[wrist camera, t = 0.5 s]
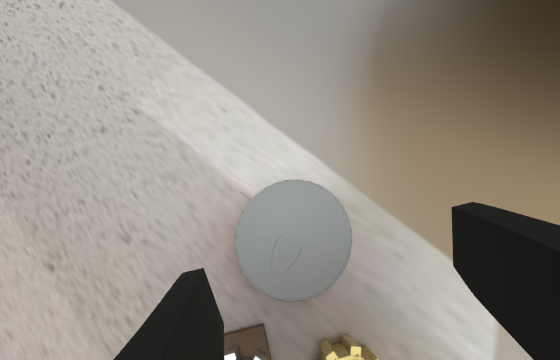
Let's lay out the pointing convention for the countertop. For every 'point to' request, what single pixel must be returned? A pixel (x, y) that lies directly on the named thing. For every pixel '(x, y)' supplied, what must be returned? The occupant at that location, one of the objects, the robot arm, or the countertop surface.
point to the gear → (232, 356)
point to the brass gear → (345, 350)
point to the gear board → (248, 341)
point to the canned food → (293, 240)
